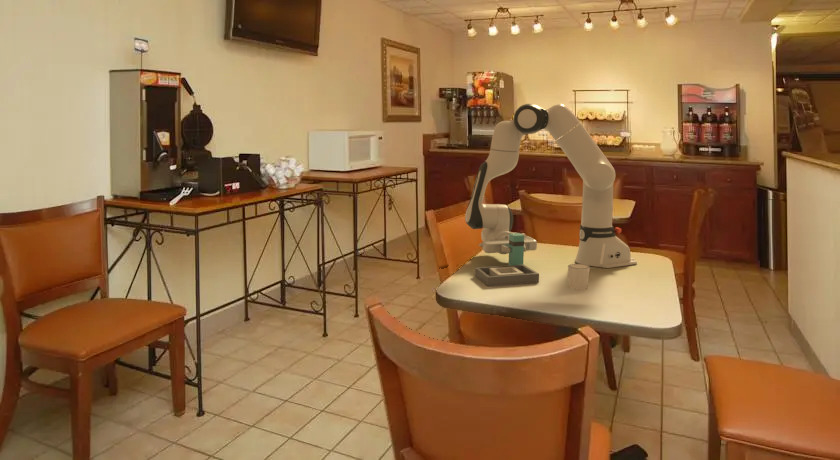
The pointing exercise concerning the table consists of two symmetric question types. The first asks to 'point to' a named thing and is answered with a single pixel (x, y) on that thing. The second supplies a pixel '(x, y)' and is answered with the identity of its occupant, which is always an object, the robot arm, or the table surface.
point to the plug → (516, 249)
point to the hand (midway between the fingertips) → (517, 249)
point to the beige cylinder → (578, 276)
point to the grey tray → (506, 275)
